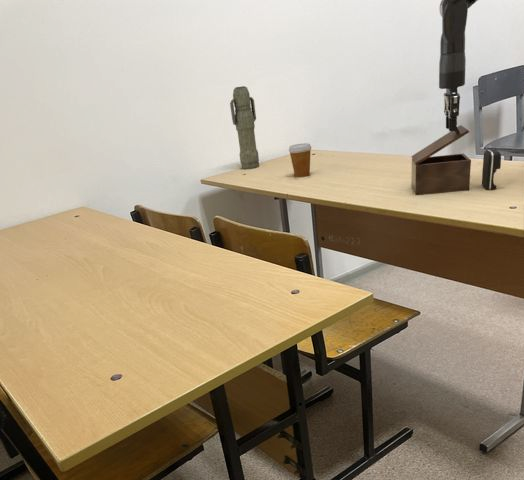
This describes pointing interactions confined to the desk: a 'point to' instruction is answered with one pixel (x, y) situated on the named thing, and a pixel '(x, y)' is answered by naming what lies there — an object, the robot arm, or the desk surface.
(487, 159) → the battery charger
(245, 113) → the stone idol statue
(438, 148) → the lid
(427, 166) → the chest
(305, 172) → the disposable coffee cup
